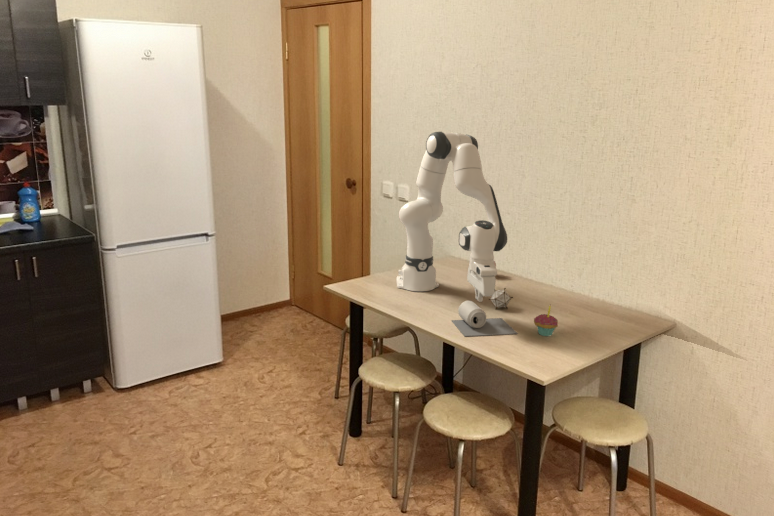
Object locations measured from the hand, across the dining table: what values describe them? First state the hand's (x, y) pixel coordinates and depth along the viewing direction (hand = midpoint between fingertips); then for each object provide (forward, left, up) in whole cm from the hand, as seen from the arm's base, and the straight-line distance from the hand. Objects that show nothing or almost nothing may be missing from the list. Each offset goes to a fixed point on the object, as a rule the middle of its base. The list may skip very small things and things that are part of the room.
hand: (478, 300), depth 246 cm
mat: (+7, 0, -8) cm, 11 cm away
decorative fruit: (-57, +24, -8) cm, 62 cm away
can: (-2, -4, -4) cm, 6 cm away
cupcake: (+16, +20, -8) cm, 27 cm away
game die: (-13, +14, -8) cm, 21 cm away
